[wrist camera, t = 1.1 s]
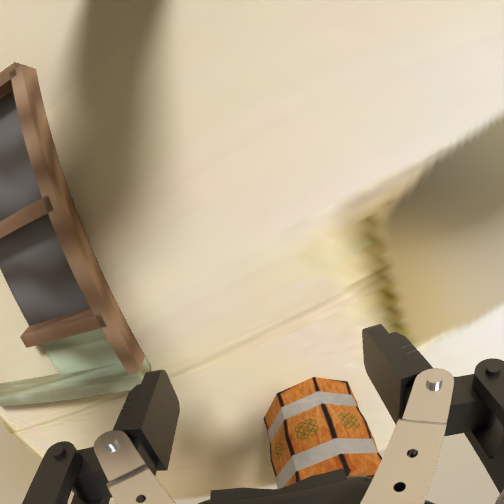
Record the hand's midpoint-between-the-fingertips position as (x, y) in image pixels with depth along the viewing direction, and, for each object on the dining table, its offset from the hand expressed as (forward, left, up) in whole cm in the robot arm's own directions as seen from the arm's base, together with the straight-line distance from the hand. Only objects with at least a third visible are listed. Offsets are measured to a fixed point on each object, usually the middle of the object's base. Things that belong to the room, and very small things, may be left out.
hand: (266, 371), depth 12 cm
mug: (+31, +1, -21) cm, 37 cm away
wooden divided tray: (-6, -31, -21) cm, 38 cm away
